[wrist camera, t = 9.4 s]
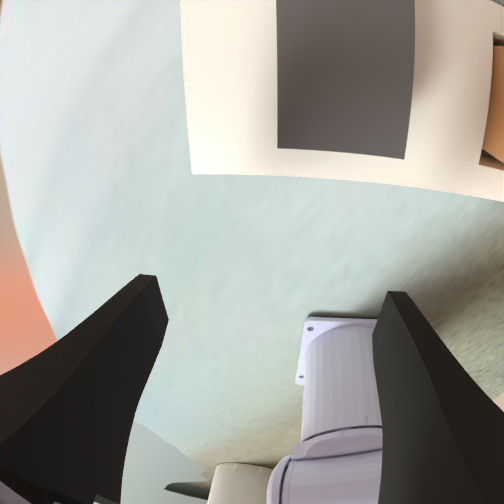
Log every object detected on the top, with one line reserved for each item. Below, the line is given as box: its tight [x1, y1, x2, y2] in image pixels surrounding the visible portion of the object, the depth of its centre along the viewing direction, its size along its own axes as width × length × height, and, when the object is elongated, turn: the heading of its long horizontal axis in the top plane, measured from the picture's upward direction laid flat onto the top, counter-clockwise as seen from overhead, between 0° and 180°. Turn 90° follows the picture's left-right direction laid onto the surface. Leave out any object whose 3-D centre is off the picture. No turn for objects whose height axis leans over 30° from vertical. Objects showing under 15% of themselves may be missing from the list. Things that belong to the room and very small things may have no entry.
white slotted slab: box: [180, 0, 504, 202], centre depth 9 cm, size 22×10×7 cm, turn 91°
